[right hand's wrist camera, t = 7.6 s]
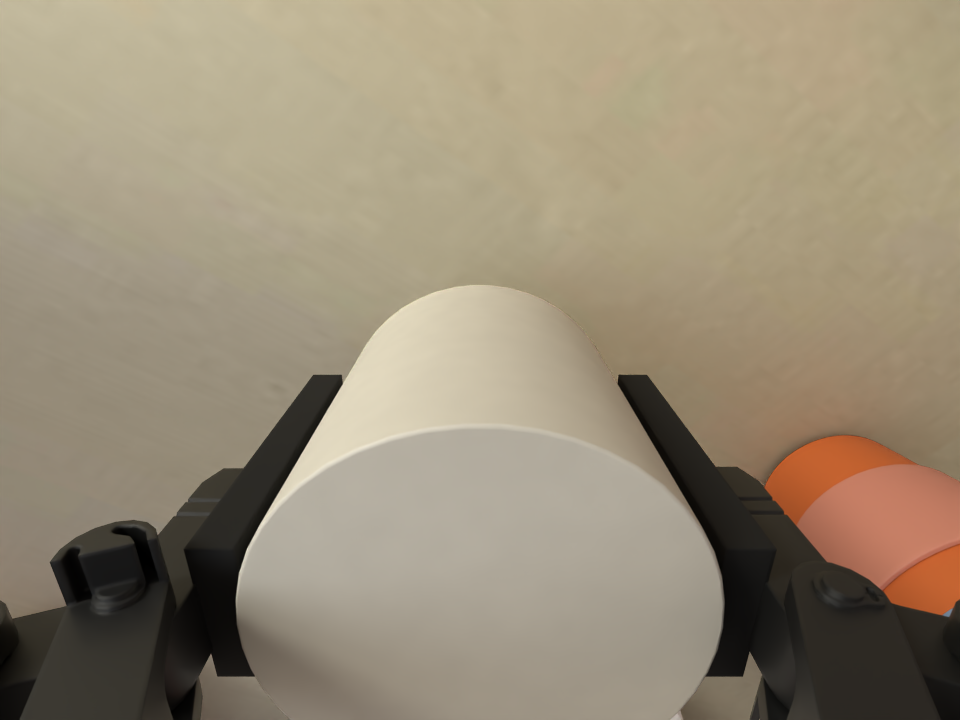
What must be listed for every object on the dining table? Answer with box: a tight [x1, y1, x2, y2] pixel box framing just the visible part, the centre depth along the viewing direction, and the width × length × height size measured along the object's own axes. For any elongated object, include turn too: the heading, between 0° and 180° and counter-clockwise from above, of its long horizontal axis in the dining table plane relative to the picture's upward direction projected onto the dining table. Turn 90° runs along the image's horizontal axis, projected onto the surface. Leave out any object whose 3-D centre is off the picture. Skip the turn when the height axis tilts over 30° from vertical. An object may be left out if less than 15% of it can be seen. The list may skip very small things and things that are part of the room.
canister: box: [236, 285, 725, 720], centre depth 11 cm, size 7×7×7 cm
